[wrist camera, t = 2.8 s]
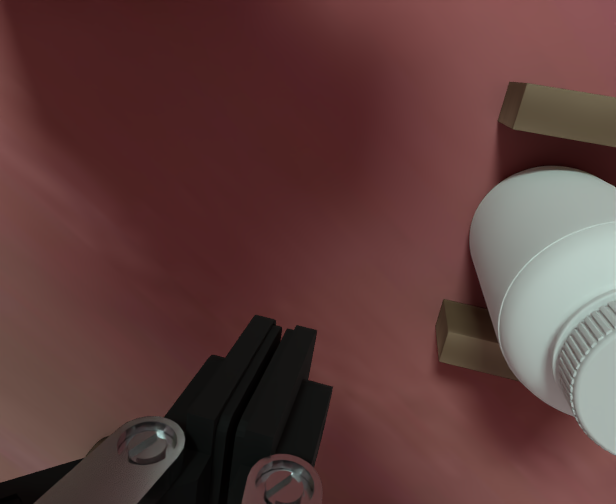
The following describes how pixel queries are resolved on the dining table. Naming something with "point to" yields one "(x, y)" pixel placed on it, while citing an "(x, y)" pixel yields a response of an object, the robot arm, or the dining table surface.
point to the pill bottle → (554, 288)
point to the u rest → (542, 120)
